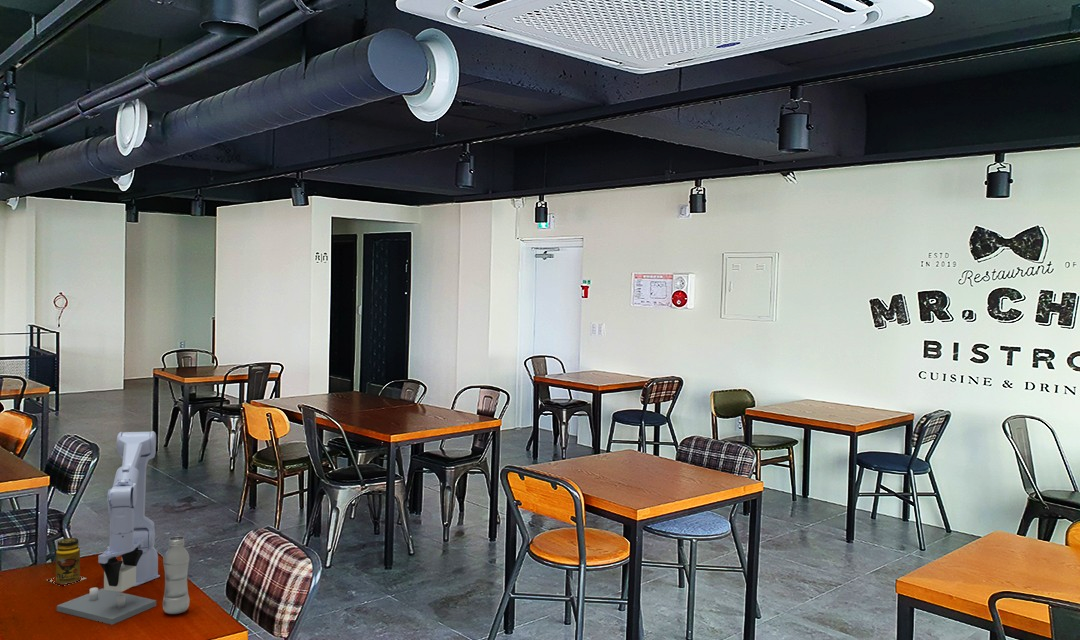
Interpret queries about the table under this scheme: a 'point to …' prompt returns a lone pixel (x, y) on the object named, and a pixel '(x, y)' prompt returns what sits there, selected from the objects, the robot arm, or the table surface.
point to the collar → (123, 579)
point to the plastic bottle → (176, 577)
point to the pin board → (106, 606)
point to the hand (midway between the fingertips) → (121, 581)
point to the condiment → (68, 561)
